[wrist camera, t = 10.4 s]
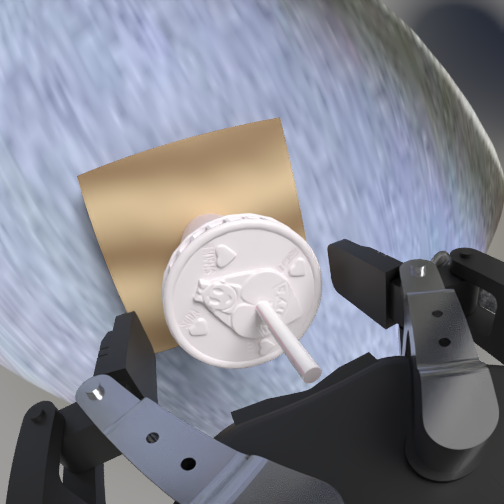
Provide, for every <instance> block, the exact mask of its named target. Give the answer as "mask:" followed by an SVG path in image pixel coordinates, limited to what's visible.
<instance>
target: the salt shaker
mask: <svg viewBox="0 0 504 504" xmlns="http://www.w3.org/2000/svg"><path fill="white" fill-rule="evenodd" d="M431 262H432V263H434V264H435V265H436V267H441V266H444V265H448V264H449V262H450V255H449V254H448V253H447V252H446V251H440V252H438V253H437V254H436V255H435V256H434V257H433V258H432V260H431ZM477 304H478V305H481V306H483V307H484V308H486V309H488V310H490V311H492V312H494V313H496V309H497V302H496V299H495V297H494V296H493V295H492V294H490V293H488V292H487V291H485V290H483V289H481V288H479V294H478V300H477Z"/></svg>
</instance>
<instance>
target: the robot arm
mask: <svg viewBox="0 0 504 504" xmlns="http://www.w3.org/2000/svg"><path fill="white" fill-rule="evenodd" d="M328 258H329V265H330V272H331V279H332V283H333V286H334V288H335V290H336V291H337V292H338V293H339V294H340V295H342V296H343V297H344V298H346V299H347V300H348V301H350V302H351V303H352V304H353V305H355V306H356V307H357V308H359V309H360V310H361V311H363V312H364V313H365V314H366V315H368V316H369V317H370V318H372V319H373V320H374V321H375V322H377V323H378V324H379V325H381V326H382V327H383V328H385V329H388V328H389V327H391V326H393V325H395V324H396V323H398V324H399V328H398V336H399V353H400V356H392V357H386V358H381V359H378V360H377V359H376V358H375V357H374V356H372V355H371V354H370V353H369V352H368V353H366V354H364V355H362V356H360V357H359V358H357V359H355V360H353V361H351V362H349V363H347V364H345V365H343V366H341V367H339V368H338V369H336V370H335V371H334V372H332V373H331V374H330V375H328V376H327V377H326V378H325V379H323V380H322V381H321V382H319V383H318V384H316V385H315V386H314V387H312V388H311V389H309V390H307V391H303V392H299V393H294V394H289V395H285V396H280V397H275V398H270V399H266V400H263V401H261V402H258V403H255V404H253V405H250V406H247V407H244V408H241V409H239V410H236V411H233V412H231V415H232V417H233V420H234V423H233V424H231V425H230V426H228V427H227V428H225V429H224V430H222V431H221V432H220V433H219V434H218V435H217V436H215V437H214V438H212V437H210V436H208V435H206V434H204V433H203V432H201V431H199V430H197V429H196V428H194V427H192V426H191V425H189V424H187V423H186V422H184V421H183V420H181V419H179V418H178V417H176V416H175V415H173V414H171V413H170V412H168V411H167V410H165V409H164V408H162V407H161V406H159V405H158V399H157V381H156V358H155V353H154V350H153V347H152V345H151V342H150V340H149V338H148V336H147V334H146V332H145V330H144V328H143V326H142V324H141V322H140V320H139V318H138V316H137V314H136V312H135V311H132V312H129V313H125V314H122V315H119V316H116V319H115V323H114V327H113V331H110V332H108V333H107V334H106V336H105V337H104V338H103V340H102V342H101V346H100V351H99V354H98V358H97V362H96V366H95V371H94V375H93V377H91V378H90V379H88V380H86V381H85V382H84V383H83V384H82V385H81V386H80V387H79V388H78V390H77V392H76V396H75V397H76V401H77V402H75V403H73V404H71V405H69V406H67V407H65V408H63V409H61V410H58V409H57V408H56V407H55V406H54V404H53V403H52V402H50V401H42V402H39V403H37V404H35V405H33V406H32V407H31V408H30V409H29V410H28V411H27V413H26V414H25V416H24V419H23V422H22V426H21V429H20V433H19V437H18V441H17V445H16V449H15V454H14V459H13V463H12V468H11V473H10V479H9V485H8V492H7V499H6V504H106V502H105V488H104V464H103V463H104V462H106V461H109V460H111V459H113V458H115V457H117V456H119V455H121V454H123V455H124V456H125V457H126V458H127V459H128V460H129V461H130V462H131V463H132V464H133V465H134V466H135V467H136V468H137V469H138V470H140V472H142V473H143V474H144V475H145V476H146V477H147V478H148V479H150V480H151V481H152V482H153V483H154V484H155V485H156V486H158V487H159V488H160V489H161V490H162V491H164V492H165V493H166V494H167V495H168V496H170V497H171V498H172V499H174V500H175V502H174V504H504V366H499V365H488V364H485V363H483V362H481V361H480V360H479V357H478V354H477V351H476V348H475V344H474V342H475V343H476V344H477V345H479V346H480V347H481V348H483V349H484V350H485V351H487V352H488V353H489V354H491V355H492V356H493V357H495V358H496V359H497V360H498V361H500V362H501V363H502V364H504V262H502V261H500V260H498V259H495V258H493V257H491V256H489V255H487V254H484V253H482V252H480V251H478V250H475V249H472V248H458V249H455V250H453V251H452V252H451V253H450V262H449V264H448V265H444V266H441V267H436V265H435V264H434V263H432V262H430V261H427V260H422V259H415V260H410V261H407V262H404V263H403V262H400V261H398V260H396V259H394V258H392V257H390V256H388V255H385V254H383V253H381V252H378V251H377V250H375V249H373V248H370V247H365V246H360V245H358V244H356V243H353V242H351V241H349V240H347V239H343V240H341V241H338V242H335V243H332V244H330V245H329V246H328ZM479 288H481V289H483V290H485V291H487V292H488V293H490V294H492V295H493V296H494V297H495V299H496V302H497V309H496V314H493V313H491V312H490V311H488V310H486V309H485V308H483V307H482V306H480V305H478V304H477V300H478V294H479ZM60 463H61V464H62V465H63V466H64V470H63V483H62V482H61V479H60V476H59V465H60Z"/></svg>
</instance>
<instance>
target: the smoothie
mask: <svg viewBox="0 0 504 504" xmlns="http://www.w3.org/2000/svg"><path fill="white" fill-rule="evenodd" d="M321 295H322V275H321V270H320V266H319V263H318V260H317V258H316V256H315V254H314V252H313V250H312V249H311V248H310V246H309V245H308V244H307V242H306V241H305V240H304V239H303V238H302V237H301V236H300V235H298V234H297V233H296V232H294V231H293V230H291V229H290V228H289V227H288V226H286V225H285V224H283V223H281V222H279V221H277V220H275V219H273V218H271V217H267V216H262V215H257V214H252V213H245V214H232V215H226V216H224V215H218V214H212V213H208V214H203V215H200V216H197V217H196V218H194V219H193V220H192V221H190V223H189V224H188V225H187V226H186V228H185V230H184V233H183V236H182V239H181V243H180V245H179V246H178V247H177V249H176V250H175V251H174V252H173V254H172V256H171V258H170V260H169V262H168V265H167V267H166V269H165V271H164V274H163V282H162V289H161V298H162V304H163V310H164V315H165V319H166V322H167V325H168V328H169V330H170V332H171V334H172V336H173V337H174V339H175V340H176V342H177V343H178V344H179V345H180V346H181V347H182V348H183V349H184V350H185V351H186V352H187V353H188V354H190V355H191V356H193V357H194V358H196V359H197V360H199V361H201V362H204V363H206V364H209V365H212V366H216V367H221V368H232V369H237V368H247V367H252V366H257V365H260V364H263V363H266V362H268V361H271V360H273V359H274V358H276V357H278V356H280V355H282V354H283V353H285V355H286V356H287V358H288V359H289V361H290V362H291V363H292V365H293V366H294V368H295V369H296V371H297V372H298V374H299V375H300V377H301V378H302V379H303V381H304V382H305V383H313V382H315V381H316V380H318V379H319V378H320V376H321V374H322V370H321V369H320V367H319V366H318V365H317V364H316V362H315V361H314V360H313V359H312V357H311V356H310V355H309V354H308V352H307V351H306V350H305V349H304V347H303V346H302V345H301V344H300V342H299V340H300V339H301V337H302V336H303V335H304V334H305V333H306V331H307V330H308V328H309V327H310V325H311V324H312V322H313V320H314V318H315V316H316V313H317V311H318V308H319V305H320V300H321Z"/></svg>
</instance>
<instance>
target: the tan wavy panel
mask: <svg viewBox="0 0 504 504" xmlns="http://www.w3.org/2000/svg"><path fill="white" fill-rule="evenodd" d="M77 177H78V181H79V184H80V188H81V191H82V195H83V198H84V201H85V204H86V208H87V211H88V214H89V217H90V220H91V223H92V226H93V229H94V232H95V234H96V237H97V240H98V243H99V246H100V248H101V251H102V254H103V256H104V259H105V261H106V264H107V266H108V269H109V271H110V274H111V276H112V279H113V281H114V284H115V286H116V288H117V291H118V293H119V295H120V297H121V300H122V302H123V304H124V306H125V309H126V311H127V313H129V312H132V311H135V312H136V314H137V316H138V318H139V320H140V322H141V324H142V326H143V328H144V330H145V332H146V334H147V336H148V338H149V340H150V342H151V345H152V347H153V350H154V353H158V352H162V351H165V350H168V349H171V348H175V347H178V346H180V345H179V344H178V343H177V342H176V340H175V339H174V337H173V336H172V334H171V332H170V330H169V328H168V325H167V322H166V319H165V315H164V310H163V304H162V298H161V289H162V282H163V274H164V271H165V269H166V267H167V265H168V262H169V260H170V258H171V256H172V254H173V252H174V251H175V250H176V249H177V247H178V246H179V245H180V243H181V239H182V236H183V233H184V230H185V228H186V226H187V225H188V224H189V223H190V221H192V220H193V219H194V218H196V217H197V216H200V215H203V214H208V213H212V214H218V215H224V216H226V215H232V214H245V213H252V214H257V215H262V216H267V217H271V218H273V219H275V220H277V221H279V222H281V223H283V224H285V225H286V226H288V227H289V228H290V229H291V230H293V231H294V232H296V233H297V234H298V235H300V236H301V237H302V238H303V239H304V240H305V241H306V237H305V231H304V226H303V221H302V216H301V211H300V206H299V201H298V196H297V191H296V186H295V181H294V177H293V172H292V168H291V163H290V159H289V154H288V150H287V145H286V141H285V137H284V133H283V128H282V124H281V120H280V118H274V119H269V120H264V121H258V122H253V123H249V124H244V125H239V126H235V127H230V128H226V129H222V130H218V131H213V132H209V133H205V134H202V135H198V136H194V137H190V138H187V139H183V140H180V141H176V142H173V143H169V144H166V145H163V146H159V147H156V148H153V149H150V150H147V151H144V152H141V153H138V154H135V155H132V156H129V157H126V158H123V159H120V160H117V161H115V162H112V163H109V164H107V165H104V166H101V167H99V168H96V169H93V170H91V171H88V172H86V173H83V174H81V175H79V176H77Z"/></svg>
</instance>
